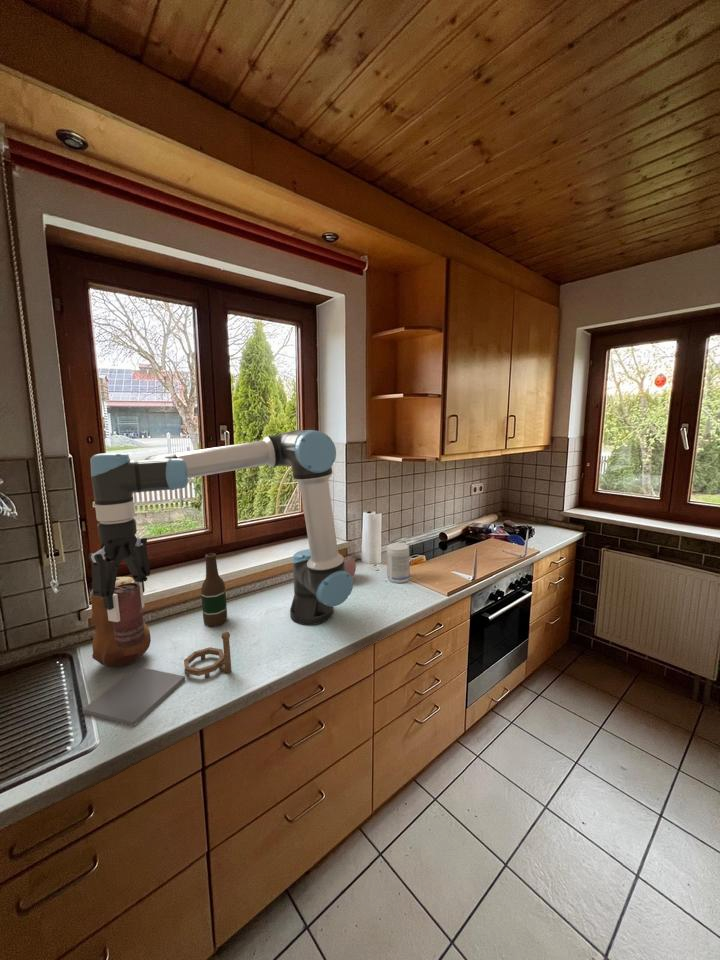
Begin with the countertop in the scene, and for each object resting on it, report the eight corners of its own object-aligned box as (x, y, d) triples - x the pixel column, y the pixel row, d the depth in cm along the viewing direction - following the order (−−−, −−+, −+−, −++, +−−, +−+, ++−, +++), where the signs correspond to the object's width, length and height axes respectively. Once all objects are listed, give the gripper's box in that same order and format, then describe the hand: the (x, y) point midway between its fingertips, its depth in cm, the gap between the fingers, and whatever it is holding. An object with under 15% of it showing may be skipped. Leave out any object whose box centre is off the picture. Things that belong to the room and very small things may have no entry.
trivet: (185, 680, 100) (184, 676, 100) (133, 726, 85) (133, 721, 84) (139, 671, 104) (139, 666, 104) (82, 713, 89) (82, 709, 89)
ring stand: (242, 661, 107) (239, 623, 106) (220, 684, 98) (217, 642, 96) (202, 654, 111) (198, 617, 109) (176, 675, 102) (173, 635, 100)
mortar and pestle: (343, 572, 170) (343, 548, 168) (362, 580, 161) (361, 554, 160) (322, 580, 162) (321, 554, 160) (340, 589, 153) (339, 561, 152)
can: (123, 635, 95) (116, 582, 93) (149, 634, 95) (143, 581, 93) (109, 650, 89) (102, 593, 87) (137, 648, 89) (131, 592, 87)
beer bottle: (219, 628, 125) (214, 559, 121) (198, 626, 126) (192, 557, 123) (232, 616, 132) (227, 551, 129) (212, 615, 134) (206, 549, 131)
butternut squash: (141, 643, 117) (132, 566, 114) (160, 659, 109) (151, 576, 105) (88, 665, 107) (76, 581, 103) (104, 685, 98) (93, 594, 95)
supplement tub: (414, 579, 162) (414, 545, 160) (400, 585, 155) (399, 551, 153) (396, 573, 169) (396, 541, 166) (382, 579, 162) (382, 546, 160)
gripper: (138, 510, 98) (146, 594, 101) (62, 530, 80) (76, 632, 83) (161, 511, 96) (169, 597, 99) (89, 532, 77) (102, 637, 81)
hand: (127, 613), depth 91 cm, fingers closed on can, 6 cm apart
